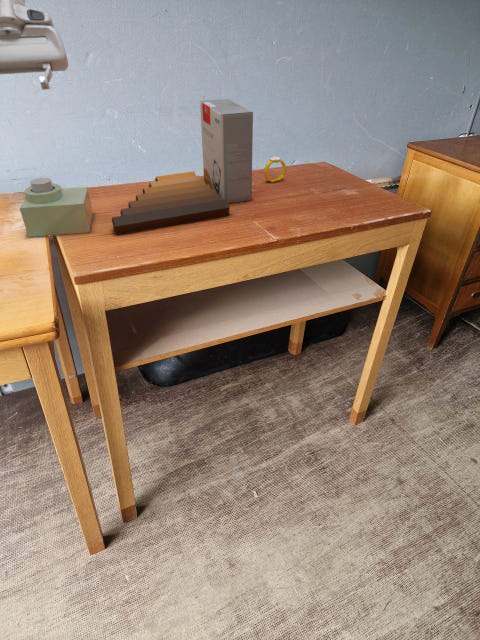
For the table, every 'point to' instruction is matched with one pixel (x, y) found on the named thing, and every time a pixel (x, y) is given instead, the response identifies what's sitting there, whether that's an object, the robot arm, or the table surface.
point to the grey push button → (41, 185)
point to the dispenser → (57, 211)
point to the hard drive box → (227, 148)
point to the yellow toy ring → (272, 160)
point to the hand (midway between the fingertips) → (20, 89)
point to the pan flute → (171, 204)
